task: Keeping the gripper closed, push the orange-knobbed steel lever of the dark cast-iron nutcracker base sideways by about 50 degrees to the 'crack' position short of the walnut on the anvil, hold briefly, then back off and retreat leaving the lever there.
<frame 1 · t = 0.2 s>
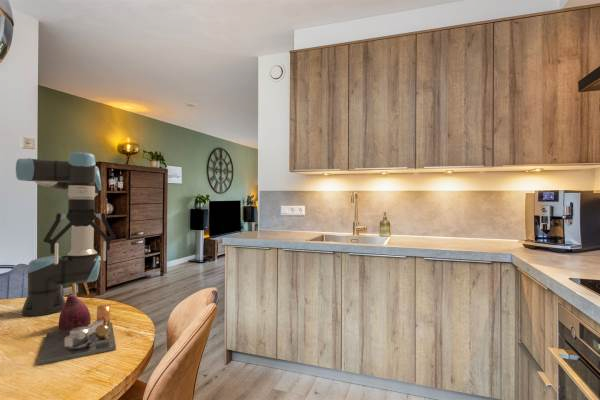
hand: (81, 261, 114), 28 cm above the table, fingers open, 13 cm apart
lever: (89, 324, 115), point 6 cm above the table, hinge at 0.0°
cracker base: (80, 342, 115), on the table
vegetable: (75, 326, 130), on the table
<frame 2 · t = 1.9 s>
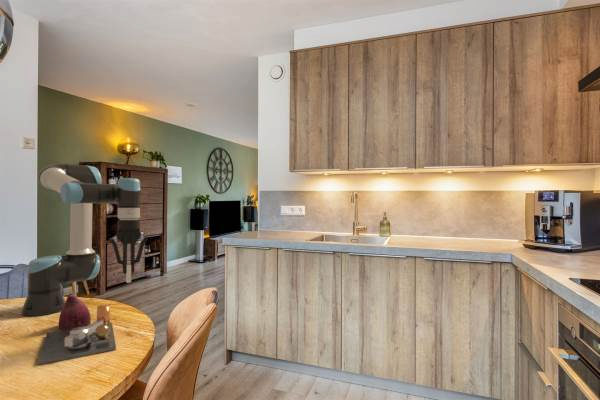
hand: (128, 281, 127), 18 cm above the table, fingers closed
nothing on the table moved.
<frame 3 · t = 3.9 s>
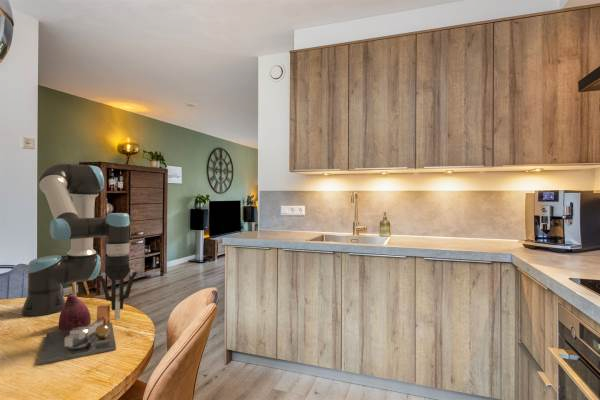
hand: (117, 318, 126), 5 cm above the table, fingers closed
lever: (89, 324, 115), point 6 cm above the table, hinge at 0.0°, touching gripper
everything else where it was.
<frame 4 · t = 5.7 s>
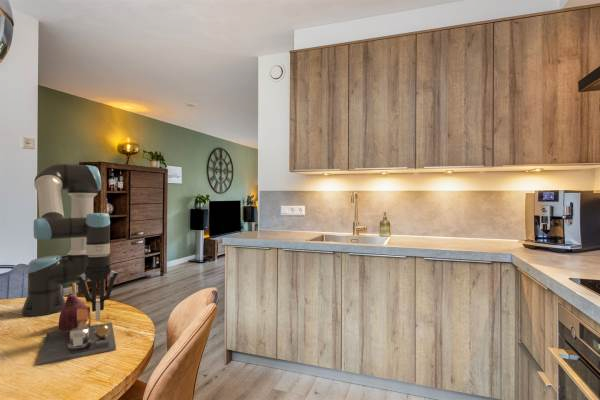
hand: (97, 319, 124), 5 cm above the table, fingers closed
lever: (81, 325, 114), point 6 cm above the table, hinge at 26.5°, touching gripper
everything else where it was.
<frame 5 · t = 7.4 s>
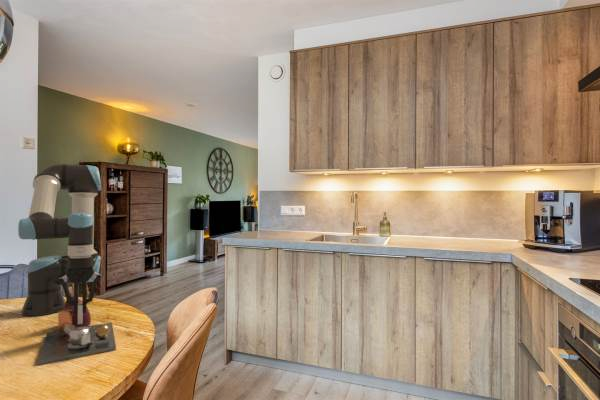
hand: (80, 322, 121), 5 cm above the table, fingers closed
lever: (73, 326, 113), point 6 cm above the table, hinge at 49.0°, touching gripper
everything else where it was.
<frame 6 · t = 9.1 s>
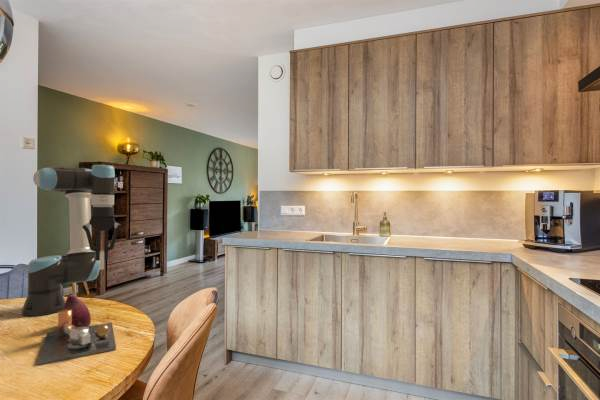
hand: (101, 268, 127), 23 cm above the table, fingers closed
lever: (73, 326, 113), point 6 cm above the table, hinge at 49.1°
everything else where it was.
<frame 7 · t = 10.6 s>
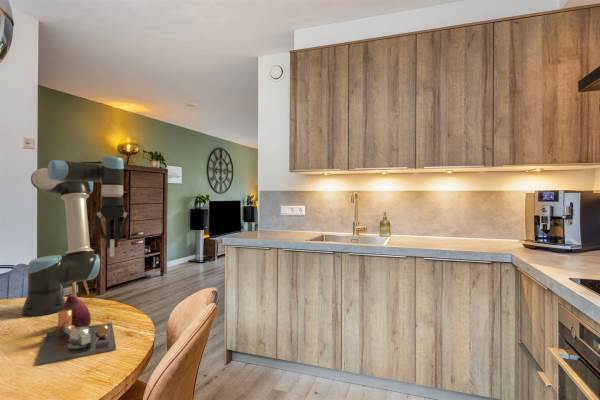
hand: (111, 256, 133), 26 cm above the table, fingers closed
nothing on the table moved.
at the end: lever at +49° (first picture: +0°) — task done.
